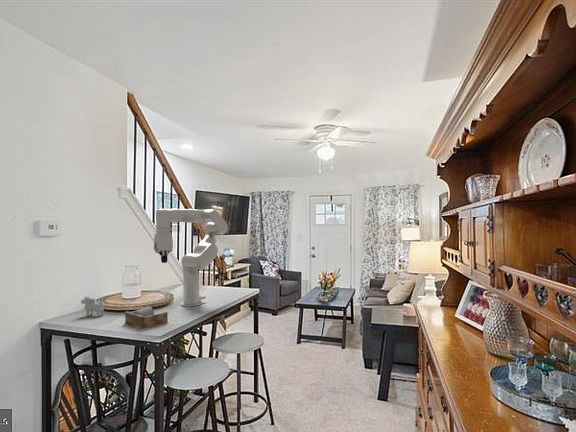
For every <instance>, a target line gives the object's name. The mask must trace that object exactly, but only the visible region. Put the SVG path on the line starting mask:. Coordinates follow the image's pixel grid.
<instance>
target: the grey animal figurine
mask: <svg viewBox="0 0 576 432" xmlns="http://www.w3.org/2000/svg"><path fill="white" fill-rule="evenodd" d="M80 303H81V304H82V305H84V306H83V307H84V310H85V313H86V314H85V317H90V315H93V314H94V312H96V317H98V318H99V316H102V315H103V316H104V310H105V309H104V308H105V303H103V302H102V301H98V302H97V301H96V299H95V298H92V296H90V295H87V296H84V299H83V298H82V299H81V300H80ZM89 314H90V315H89Z"/></svg>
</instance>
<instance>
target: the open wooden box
mask: <svg viewBox="0 0 576 432" xmlns="http://www.w3.org/2000/svg"><path fill="white" fill-rule="evenodd" d="M135 311H136V310H135ZM135 311H127V310H126V311H125V312H124V315H125V317H124V321H125V324H127V325H130V326H133V327H135V328H138V329H146V328H149V327H153V326H154V327H155V326H157V325H161V324H165V323H166V324H167V323H168V312H167V311H163V312H160V313H154V315H150V316H146V317H144V316H141V315H138V314H135V313H134V312H135ZM145 327H146V328H145Z"/></svg>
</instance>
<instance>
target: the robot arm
mask: <svg viewBox="0 0 576 432" xmlns="http://www.w3.org/2000/svg"><path fill="white" fill-rule="evenodd" d="M155 222H156V223H155V225H156V226H155V227H156V233H154V238H153V250H154V253H155V254H159V256H160V259H161V260H160V261H161V263H162V264H167V263H168V255H169V254H170V253H171V252H173V251H174V250H173V248H174V239H173V234H172V230H173V228H172V227H171V223H187V224H190V223H191V224H192V223H197V224H198V223H200V224H205V223H206V224H205V226H204V237H203V239H202V240H201V241H200V242H199V243H198V244H197V245H196V246H195V247H194V249H193V253H186V254H185V255H183V256H182V257H181V267H182V275H183V276H182V278H183V279H182V280H183V281H182V284H183V288H182V289H183V293H182V294H183V295H182V296H183V301H182V302H181V303H180V306H182V307H185V308H187V307H196V306H201V305H202V304H203V302H202V301H203V300H206V298H207V296H206V295H203V296H201V295H200V273H199V271H198V270H205V269H206V268H207V267H209V265H210V264H211V263H212V262H213V261H214V260H215V258H216V257H217V255H218V252H219V249H218V247H217V245H216V243H217V242H216V241H217V240H216V235H225V234H226V233H227V232H228V229H229V227H228V223H227V222H226V221H225V220H224V218H223V217H222V215H221V214H220V212H218V211H217V210H215V209H194V208H193V209H192V208H188V209H187V208H185V209H180V208H159V209H156V211H155Z"/></svg>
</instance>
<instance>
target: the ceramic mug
mask: <svg viewBox="0 0 576 432" xmlns="http://www.w3.org/2000/svg"><path fill="white" fill-rule="evenodd" d="M134 313H135V314H138V315H141V316H144V317H146V316H150V315H155V311H154V309H153V308H152V306H147V307H146V306H145V307H143V308H141V309H137V310H135V312H134Z"/></svg>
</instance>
